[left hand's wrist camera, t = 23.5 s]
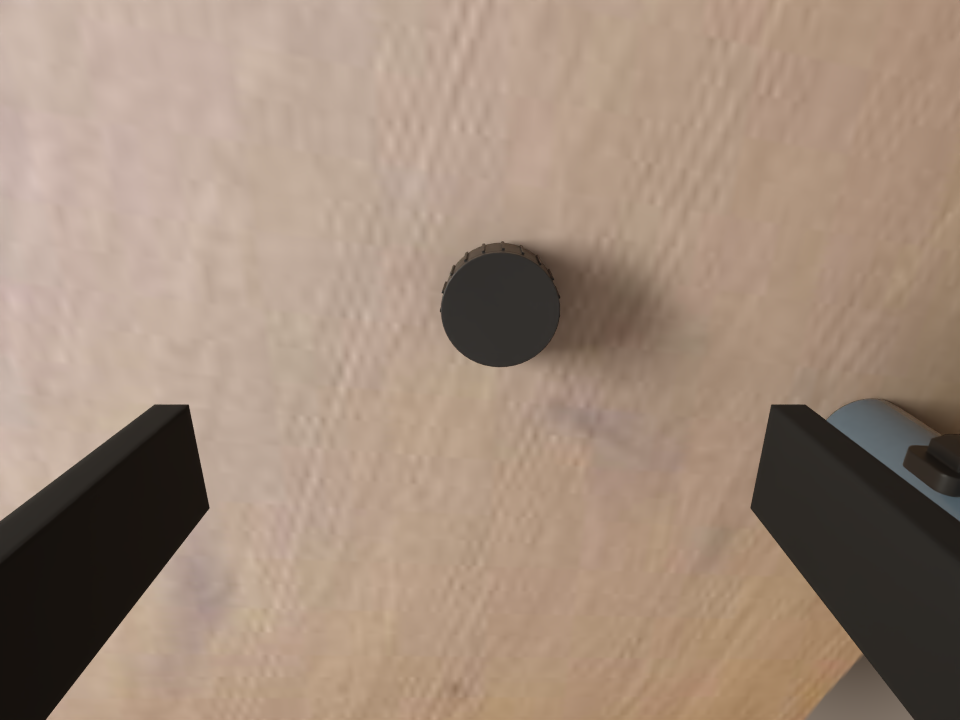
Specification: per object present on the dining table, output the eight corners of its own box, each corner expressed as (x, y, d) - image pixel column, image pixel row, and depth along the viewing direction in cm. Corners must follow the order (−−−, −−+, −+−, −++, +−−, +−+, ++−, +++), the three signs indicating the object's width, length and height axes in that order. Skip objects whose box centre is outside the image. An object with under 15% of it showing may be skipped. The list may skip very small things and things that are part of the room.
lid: (559, 343, 25) (566, 362, 22) (452, 355, 25) (448, 375, 23) (551, 234, 23) (557, 243, 21) (435, 249, 23) (430, 259, 21)
